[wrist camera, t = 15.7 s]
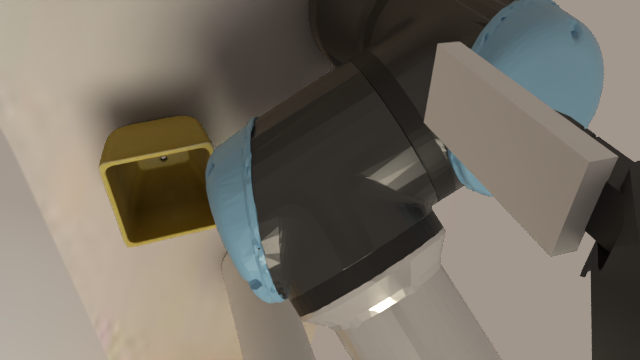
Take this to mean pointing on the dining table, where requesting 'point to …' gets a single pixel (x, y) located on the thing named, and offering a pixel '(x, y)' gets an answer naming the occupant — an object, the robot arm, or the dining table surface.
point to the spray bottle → (264, 322)
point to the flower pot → (158, 179)
